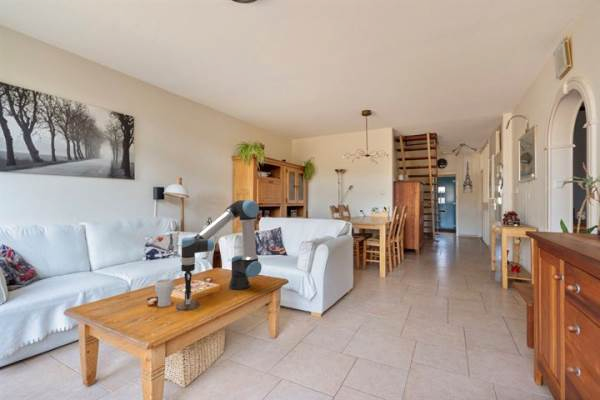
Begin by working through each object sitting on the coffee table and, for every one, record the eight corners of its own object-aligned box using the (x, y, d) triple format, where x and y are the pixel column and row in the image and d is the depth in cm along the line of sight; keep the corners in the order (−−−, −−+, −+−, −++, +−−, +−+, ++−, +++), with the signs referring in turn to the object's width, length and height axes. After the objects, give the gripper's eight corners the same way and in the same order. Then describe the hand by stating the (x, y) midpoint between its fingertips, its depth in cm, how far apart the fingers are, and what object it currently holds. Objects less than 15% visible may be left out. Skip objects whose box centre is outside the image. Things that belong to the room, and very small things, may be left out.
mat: (197, 302, 178) (197, 301, 178) (199, 309, 167) (199, 308, 167) (176, 305, 173) (176, 304, 173) (177, 312, 162) (177, 311, 162)
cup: (166, 309, 167) (166, 283, 167) (150, 307, 169) (150, 282, 169) (177, 302, 177) (177, 279, 177) (162, 301, 179) (162, 277, 179)
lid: (198, 301, 178) (198, 287, 179) (200, 308, 167) (200, 294, 167) (175, 304, 173) (176, 290, 173) (176, 311, 161) (176, 297, 161)
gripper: (181, 261, 177) (180, 297, 177) (181, 268, 159) (181, 308, 159) (193, 260, 181) (193, 296, 180) (195, 266, 162) (195, 306, 162)
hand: (187, 301), depth 170 cm, fingers open, 7 cm apart
